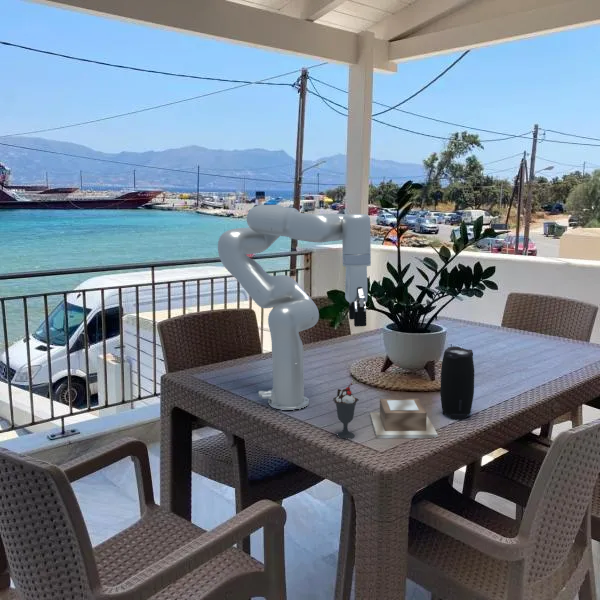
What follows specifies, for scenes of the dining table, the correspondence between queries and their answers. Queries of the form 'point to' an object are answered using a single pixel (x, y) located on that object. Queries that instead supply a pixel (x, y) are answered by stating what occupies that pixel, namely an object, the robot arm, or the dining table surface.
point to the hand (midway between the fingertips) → (357, 322)
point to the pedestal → (402, 420)
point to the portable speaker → (457, 382)
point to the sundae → (345, 410)
